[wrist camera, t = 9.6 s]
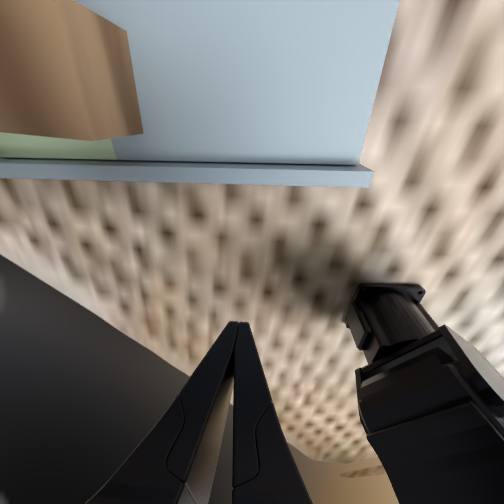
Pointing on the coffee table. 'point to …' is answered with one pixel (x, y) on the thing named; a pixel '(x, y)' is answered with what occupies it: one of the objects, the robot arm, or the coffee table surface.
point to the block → (65, 73)
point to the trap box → (233, 95)
